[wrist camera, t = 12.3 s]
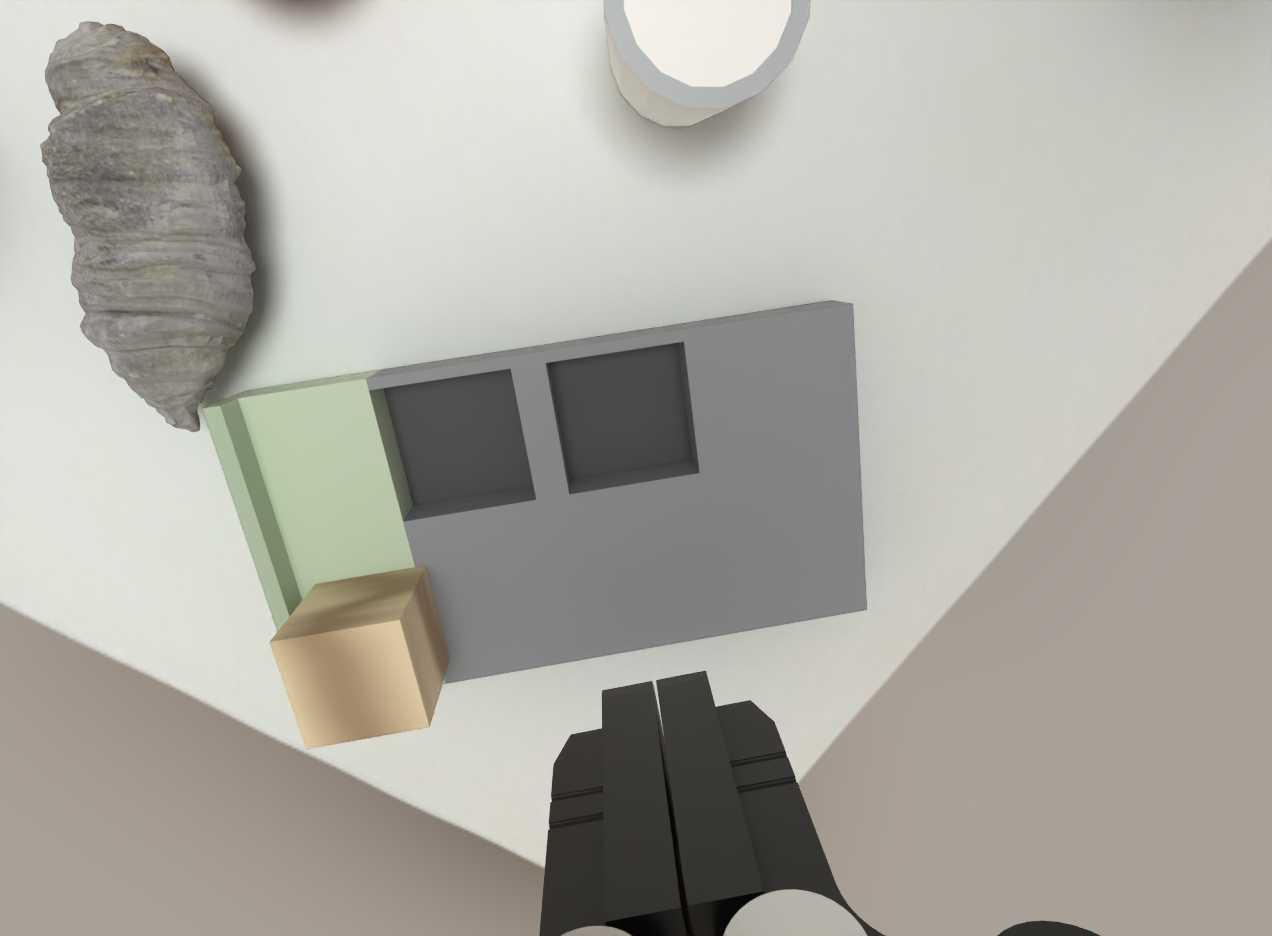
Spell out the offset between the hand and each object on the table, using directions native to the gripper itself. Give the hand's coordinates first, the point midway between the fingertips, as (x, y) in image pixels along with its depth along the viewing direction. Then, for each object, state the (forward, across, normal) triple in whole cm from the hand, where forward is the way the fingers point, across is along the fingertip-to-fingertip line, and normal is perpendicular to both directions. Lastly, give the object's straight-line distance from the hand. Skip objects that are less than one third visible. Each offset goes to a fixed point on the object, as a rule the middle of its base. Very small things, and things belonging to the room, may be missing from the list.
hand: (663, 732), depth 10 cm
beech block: (+21, +13, +8) cm, 26 cm away
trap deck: (+24, +3, +4) cm, 24 cm away
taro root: (+24, +16, -10) cm, 30 cm away
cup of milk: (+24, -5, -14) cm, 28 cm away
